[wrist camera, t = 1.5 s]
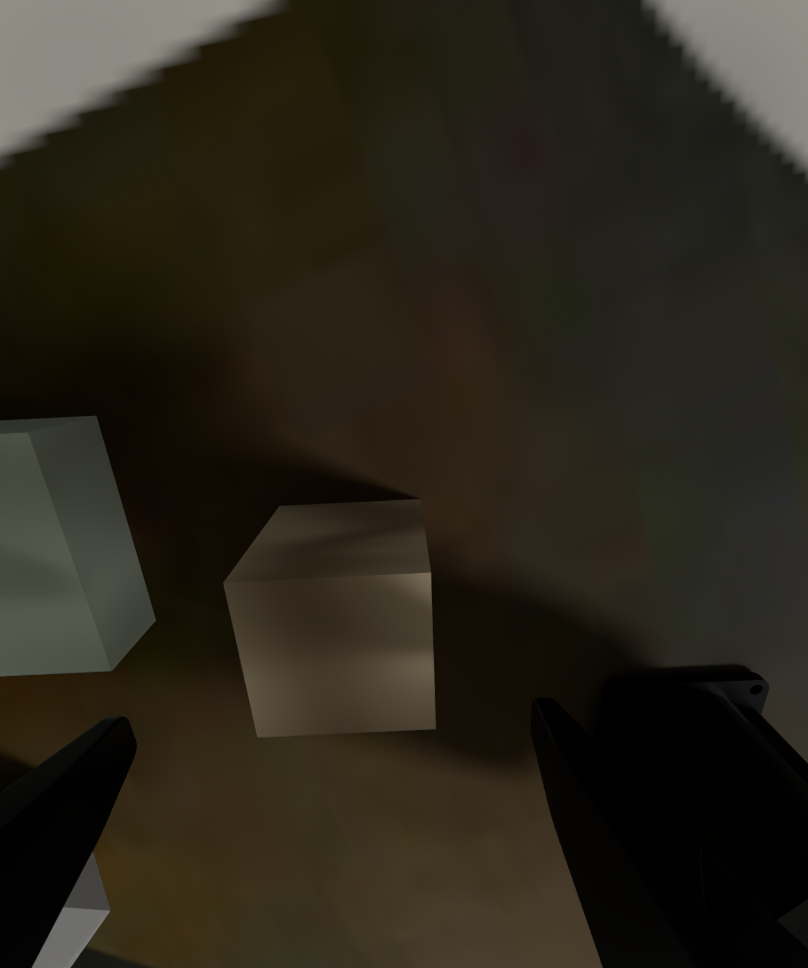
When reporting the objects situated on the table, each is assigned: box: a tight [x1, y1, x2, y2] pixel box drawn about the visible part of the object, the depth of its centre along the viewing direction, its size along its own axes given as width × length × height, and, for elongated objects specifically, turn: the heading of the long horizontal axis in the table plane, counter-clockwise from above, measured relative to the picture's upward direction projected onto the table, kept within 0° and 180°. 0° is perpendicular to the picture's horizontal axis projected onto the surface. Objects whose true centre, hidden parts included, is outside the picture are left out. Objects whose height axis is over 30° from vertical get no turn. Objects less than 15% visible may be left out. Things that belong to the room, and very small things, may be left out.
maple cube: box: [223, 499, 436, 738], centre depth 13 cm, size 5×5×5 cm
